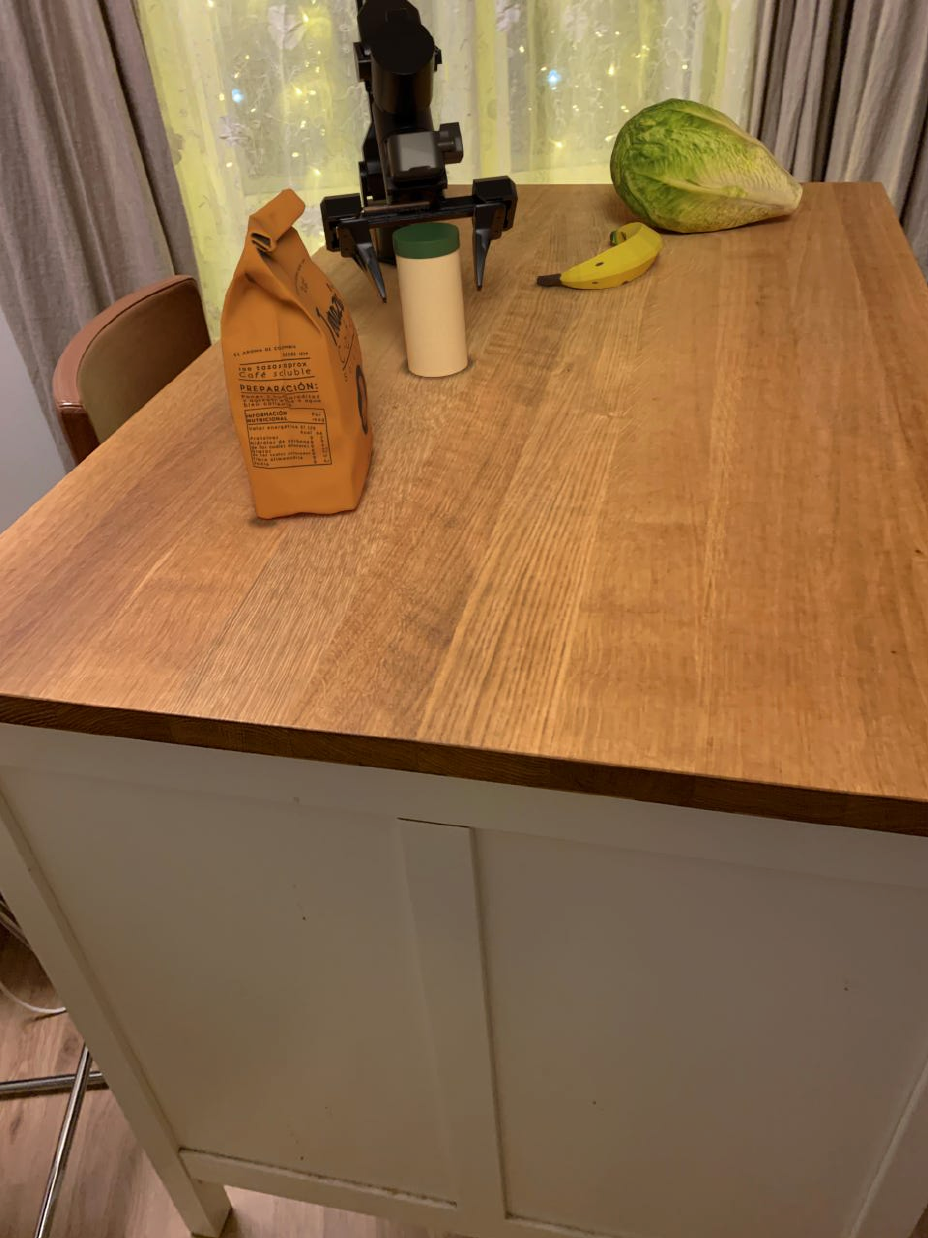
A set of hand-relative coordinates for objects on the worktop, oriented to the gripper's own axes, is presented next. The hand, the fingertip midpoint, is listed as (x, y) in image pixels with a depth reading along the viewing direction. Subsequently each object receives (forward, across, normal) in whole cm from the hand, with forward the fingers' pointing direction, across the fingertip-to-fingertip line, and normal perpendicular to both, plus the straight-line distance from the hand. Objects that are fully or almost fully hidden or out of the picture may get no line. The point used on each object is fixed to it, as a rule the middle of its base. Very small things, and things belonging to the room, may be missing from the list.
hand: (432, 295), depth 93 cm
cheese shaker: (+5, 0, +6) cm, 7 cm away
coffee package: (+20, -13, -9) cm, 26 cm away
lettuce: (-19, +40, +30) cm, 53 cm away
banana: (-12, +23, +22) cm, 34 cm away
